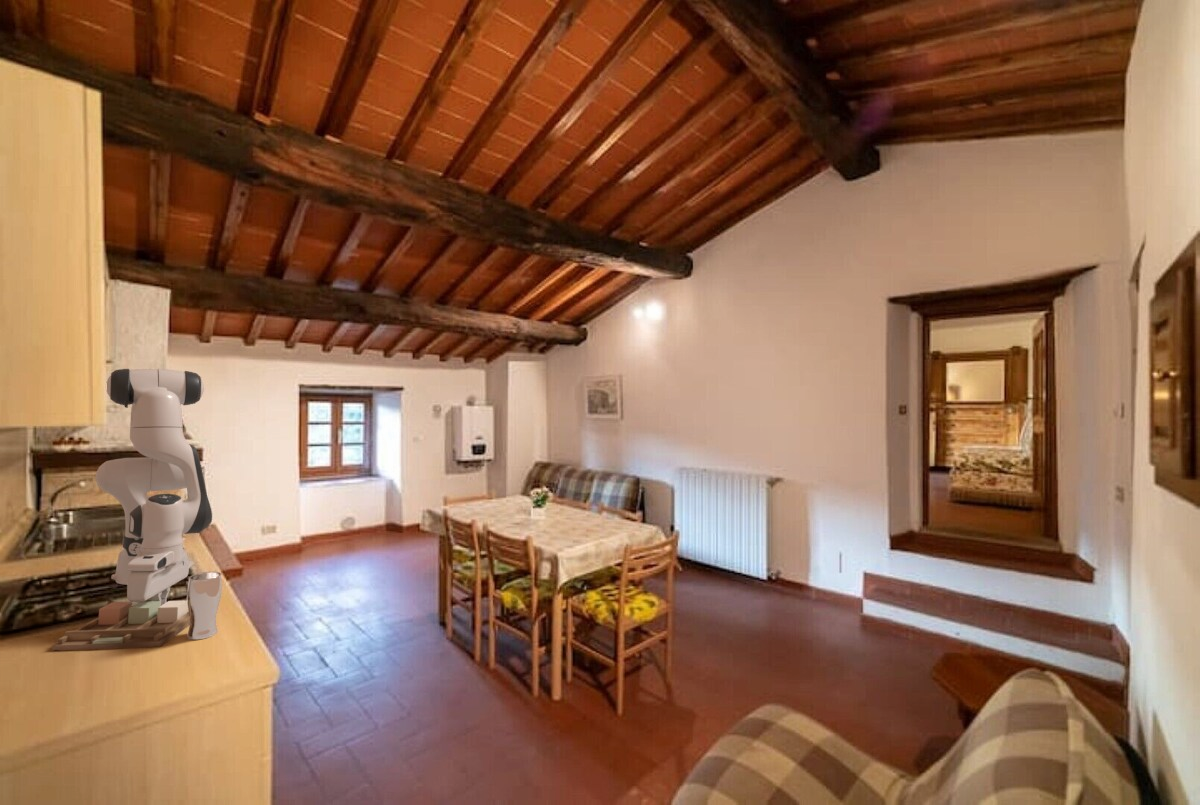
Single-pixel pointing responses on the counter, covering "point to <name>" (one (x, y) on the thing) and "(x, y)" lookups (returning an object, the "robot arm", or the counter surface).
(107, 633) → the brown compartment tray
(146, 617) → the sage green cube
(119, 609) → the salmon pink cube
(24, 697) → the counter surface
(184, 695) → the counter surface
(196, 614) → the beer glass
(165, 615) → the pale pink cube
